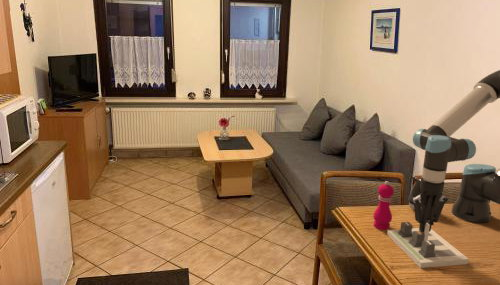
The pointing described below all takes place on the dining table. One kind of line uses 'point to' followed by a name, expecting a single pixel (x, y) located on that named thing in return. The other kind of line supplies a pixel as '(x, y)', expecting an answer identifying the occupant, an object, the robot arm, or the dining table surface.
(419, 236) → the breaker
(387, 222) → the pepper mill
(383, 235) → the dining table surface
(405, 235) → the breaker
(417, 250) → the panel
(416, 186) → the black glossy egg shape
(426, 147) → the robot arm
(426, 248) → the breaker
